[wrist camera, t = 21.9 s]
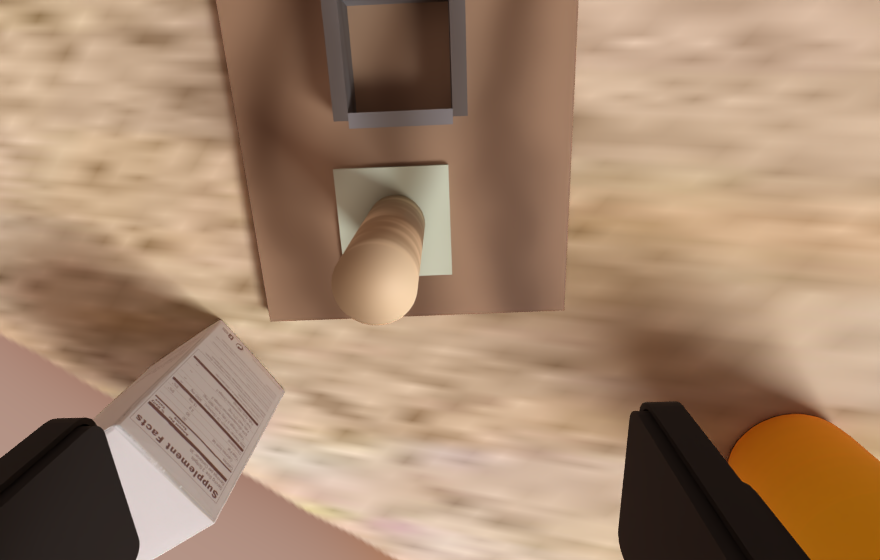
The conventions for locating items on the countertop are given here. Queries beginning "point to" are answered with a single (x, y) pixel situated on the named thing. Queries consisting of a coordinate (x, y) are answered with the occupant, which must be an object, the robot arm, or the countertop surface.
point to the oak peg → (381, 263)
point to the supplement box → (188, 435)
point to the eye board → (407, 142)
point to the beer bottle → (814, 484)
